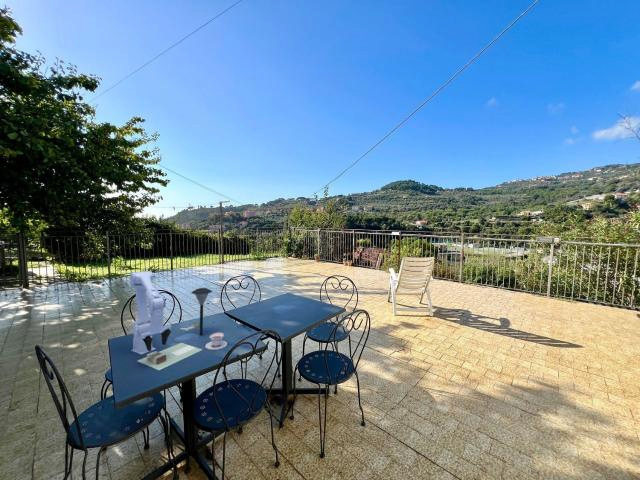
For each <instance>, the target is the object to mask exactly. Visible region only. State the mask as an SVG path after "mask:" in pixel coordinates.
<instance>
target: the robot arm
mask: <svg viewBox="0 0 640 480" xmlns="http://www.w3.org/2000/svg"><path fill="white" fill-rule="evenodd" d="M153 279H154V273H153V272H152V270H148V271H135V272H133V271H132V272H131V273H130V274H129V283H130V288H131V289H133V290H134V292H135V299H136V308H137V317H138V318H137V319H135V320H134V321H133V323H132V333H133V339H132V349H131V350H130V351H131V352H133V353H136V354H139V355H143V354H144V355H145V354H146V353H147V354H148V353H149V352H153V351H154V350H156V349H157V348H155V347H153V336H154V335H157V334H161V345H162V346H166V345H167V342H168V339H169V336H170V334H171V332H172V331H171V330H172V325H170V324H168V325H164V309H165V308H166V304H167V303H166V297H164V296H162V295H161V294H160V292H159V290H158V289H157V288H156V287H154V285H153ZM149 314H150V315H149Z"/></svg>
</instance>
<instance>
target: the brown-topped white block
mask: <svg viewBox="0 0 640 480" xmlns="http://www.w3.org/2000/svg"><path fill="white" fill-rule="evenodd" d="M159 352H160V351H156V350H155V351H154V350H153V351H151V352H150V353H149V352H148V353H147V354H146V357H147V361H150V362H152V363H155V364H157V365H158V364H160V363H163V362H165V361H166V355H164V354H162V353H159Z"/></svg>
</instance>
